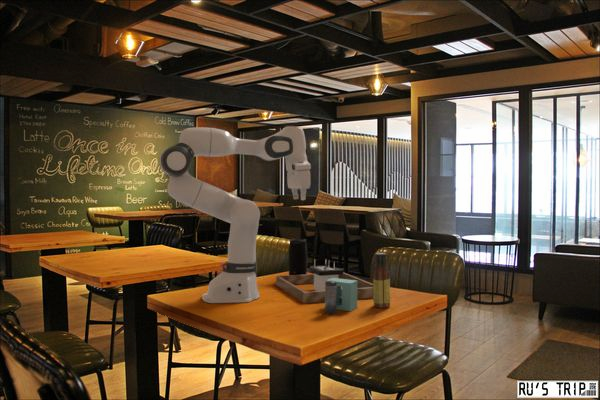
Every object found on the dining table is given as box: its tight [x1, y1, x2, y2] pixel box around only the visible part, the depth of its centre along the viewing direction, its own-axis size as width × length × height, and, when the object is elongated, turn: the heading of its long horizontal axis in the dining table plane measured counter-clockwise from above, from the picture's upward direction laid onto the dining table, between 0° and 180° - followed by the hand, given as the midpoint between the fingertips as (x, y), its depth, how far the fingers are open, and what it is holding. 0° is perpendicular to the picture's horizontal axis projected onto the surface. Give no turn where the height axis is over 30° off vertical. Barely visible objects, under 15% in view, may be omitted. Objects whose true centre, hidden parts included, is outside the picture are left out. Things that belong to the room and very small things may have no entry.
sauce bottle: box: [372, 252, 391, 309], centre depth 179 cm, size 6×6×20 cm
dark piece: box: [324, 281, 342, 316], centre depth 174 cm, size 16×4×11 cm, turn 150°
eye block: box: [326, 278, 358, 312], centre depth 177 cm, size 6×10×10 cm, turn 60°
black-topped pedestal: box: [309, 258, 344, 291], centre depth 205 cm, size 28×26×13 cm
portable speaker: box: [288, 238, 308, 275], centre depth 226 cm, size 9×9×20 cm
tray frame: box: [275, 271, 373, 304], centre depth 205 cm, size 33×35×4 cm
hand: (299, 199), depth 197 cm, fingers open, 8 cm apart
